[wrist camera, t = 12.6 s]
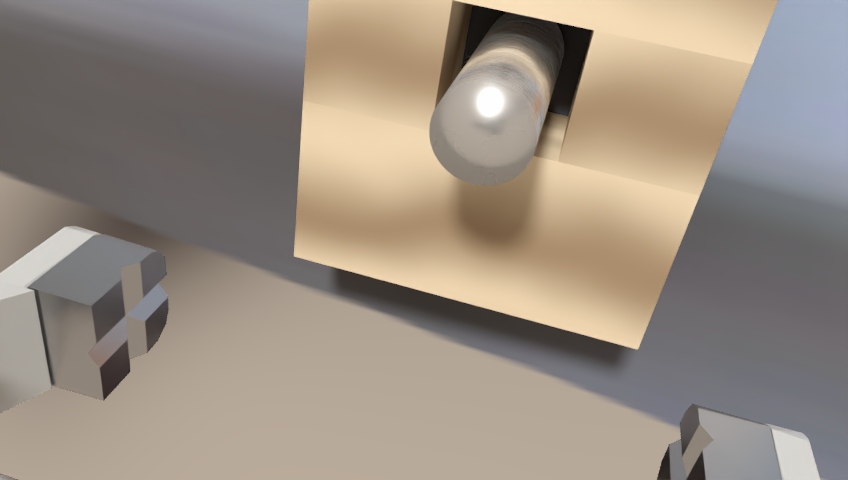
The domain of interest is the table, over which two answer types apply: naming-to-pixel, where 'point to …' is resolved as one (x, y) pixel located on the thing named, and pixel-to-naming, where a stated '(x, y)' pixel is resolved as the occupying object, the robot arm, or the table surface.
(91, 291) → the robot arm
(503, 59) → the steel pin
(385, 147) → the oak hole block
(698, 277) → the table surface
